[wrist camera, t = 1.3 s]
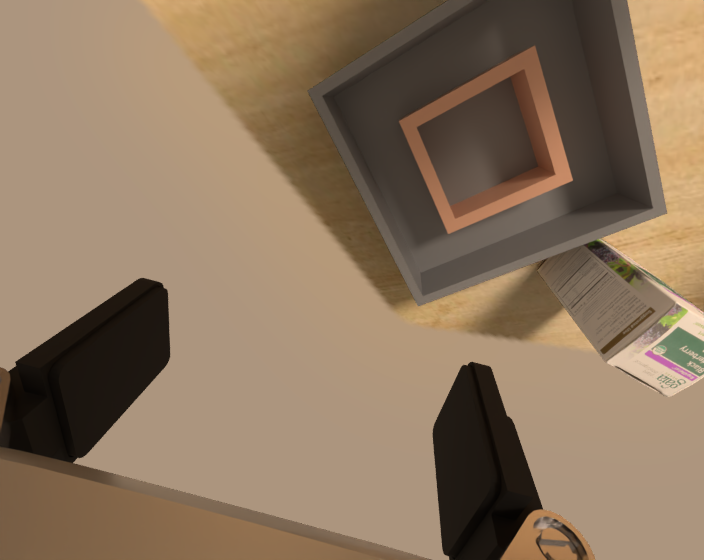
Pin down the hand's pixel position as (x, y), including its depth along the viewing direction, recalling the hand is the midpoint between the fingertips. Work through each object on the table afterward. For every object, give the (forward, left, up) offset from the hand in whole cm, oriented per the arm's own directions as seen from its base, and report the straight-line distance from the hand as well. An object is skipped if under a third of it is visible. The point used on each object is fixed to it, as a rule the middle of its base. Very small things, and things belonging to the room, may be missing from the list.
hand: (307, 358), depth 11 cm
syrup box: (-15, +16, -26) cm, 34 cm away
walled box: (-10, +1, -26) cm, 28 cm away
